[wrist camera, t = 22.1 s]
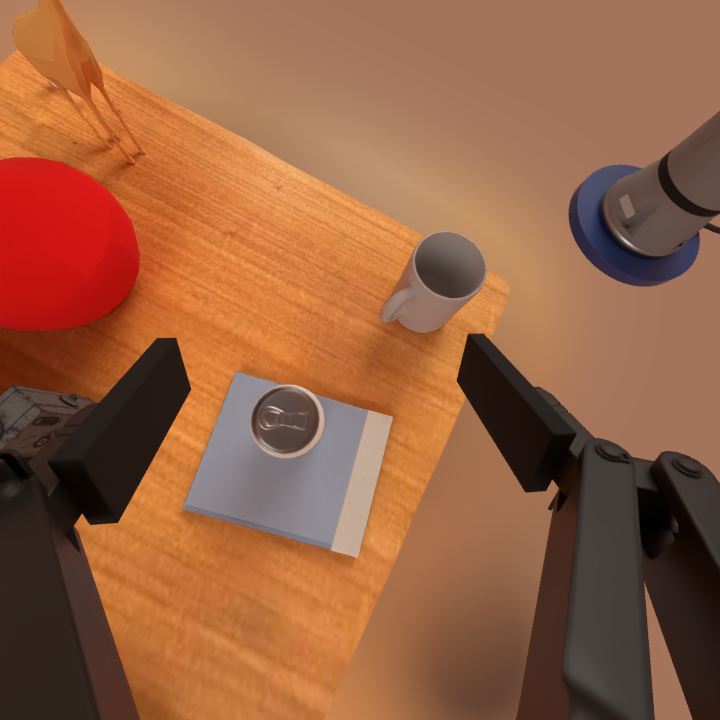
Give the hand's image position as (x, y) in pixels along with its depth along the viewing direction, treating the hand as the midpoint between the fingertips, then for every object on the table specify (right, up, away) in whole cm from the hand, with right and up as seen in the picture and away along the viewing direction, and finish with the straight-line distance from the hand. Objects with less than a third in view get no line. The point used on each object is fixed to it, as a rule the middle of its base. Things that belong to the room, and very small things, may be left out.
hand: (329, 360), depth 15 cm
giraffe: (-30, +29, +31) cm, 51 cm away
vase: (-33, +10, +26) cm, 43 cm away
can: (-6, -8, +24) cm, 26 cm away
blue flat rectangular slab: (-6, -12, +24) cm, 27 cm away
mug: (+8, +7, +30) cm, 32 cm away
